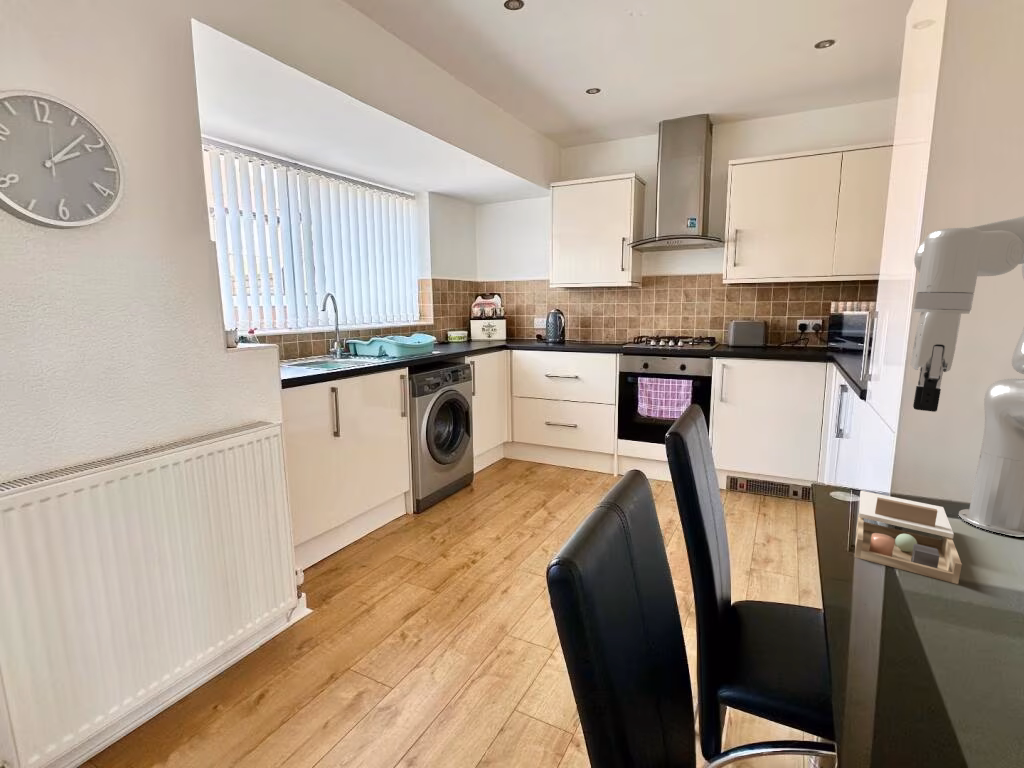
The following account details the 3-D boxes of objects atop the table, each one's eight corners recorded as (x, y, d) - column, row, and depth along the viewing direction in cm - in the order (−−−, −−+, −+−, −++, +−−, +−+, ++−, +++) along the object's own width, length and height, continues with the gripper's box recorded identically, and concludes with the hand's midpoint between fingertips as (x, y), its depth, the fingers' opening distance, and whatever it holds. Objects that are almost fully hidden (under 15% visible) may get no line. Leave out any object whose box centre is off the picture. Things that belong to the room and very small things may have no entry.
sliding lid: (860, 494, 112) (862, 477, 111) (942, 510, 104) (945, 493, 103) (858, 517, 98) (861, 498, 98) (953, 538, 91) (956, 518, 90)
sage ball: (898, 545, 95) (901, 529, 95) (918, 552, 93) (921, 536, 92) (890, 549, 94) (893, 532, 93) (911, 556, 91) (914, 540, 90)
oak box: (856, 529, 103) (859, 510, 103) (945, 550, 95) (949, 530, 95) (854, 559, 90) (857, 538, 90) (957, 587, 82) (961, 564, 82)
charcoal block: (911, 560, 90) (913, 543, 89) (934, 566, 88) (937, 548, 87) (912, 567, 87) (915, 550, 87) (936, 573, 85) (939, 556, 85)
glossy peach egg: (874, 547, 94) (876, 531, 93) (895, 555, 91) (898, 539, 91) (865, 551, 92) (868, 535, 92) (886, 560, 89) (889, 543, 89)
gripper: (911, 304, 94) (895, 401, 97) (918, 302, 82) (900, 413, 85) (964, 305, 90) (946, 406, 93) (980, 304, 78) (959, 420, 81)
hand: (924, 409), depth 89 cm, fingers closed
